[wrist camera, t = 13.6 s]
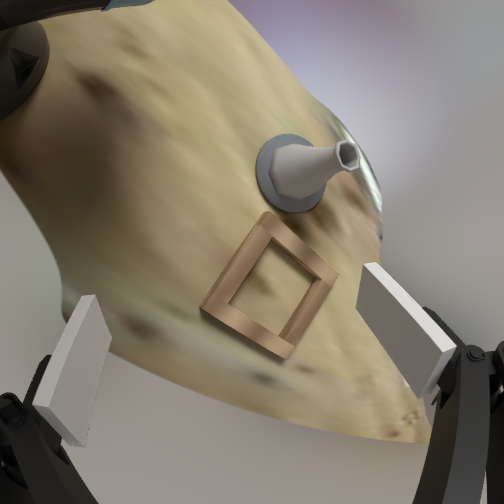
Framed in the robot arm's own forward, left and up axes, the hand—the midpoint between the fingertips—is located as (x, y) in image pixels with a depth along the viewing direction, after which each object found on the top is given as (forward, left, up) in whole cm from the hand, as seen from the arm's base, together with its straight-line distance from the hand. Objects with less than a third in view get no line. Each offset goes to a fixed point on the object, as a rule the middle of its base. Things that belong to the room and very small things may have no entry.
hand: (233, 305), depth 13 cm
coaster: (-4, +18, -18) cm, 26 cm away
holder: (+8, +10, -18) cm, 22 cm away
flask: (-4, +18, -18) cm, 25 cm away
